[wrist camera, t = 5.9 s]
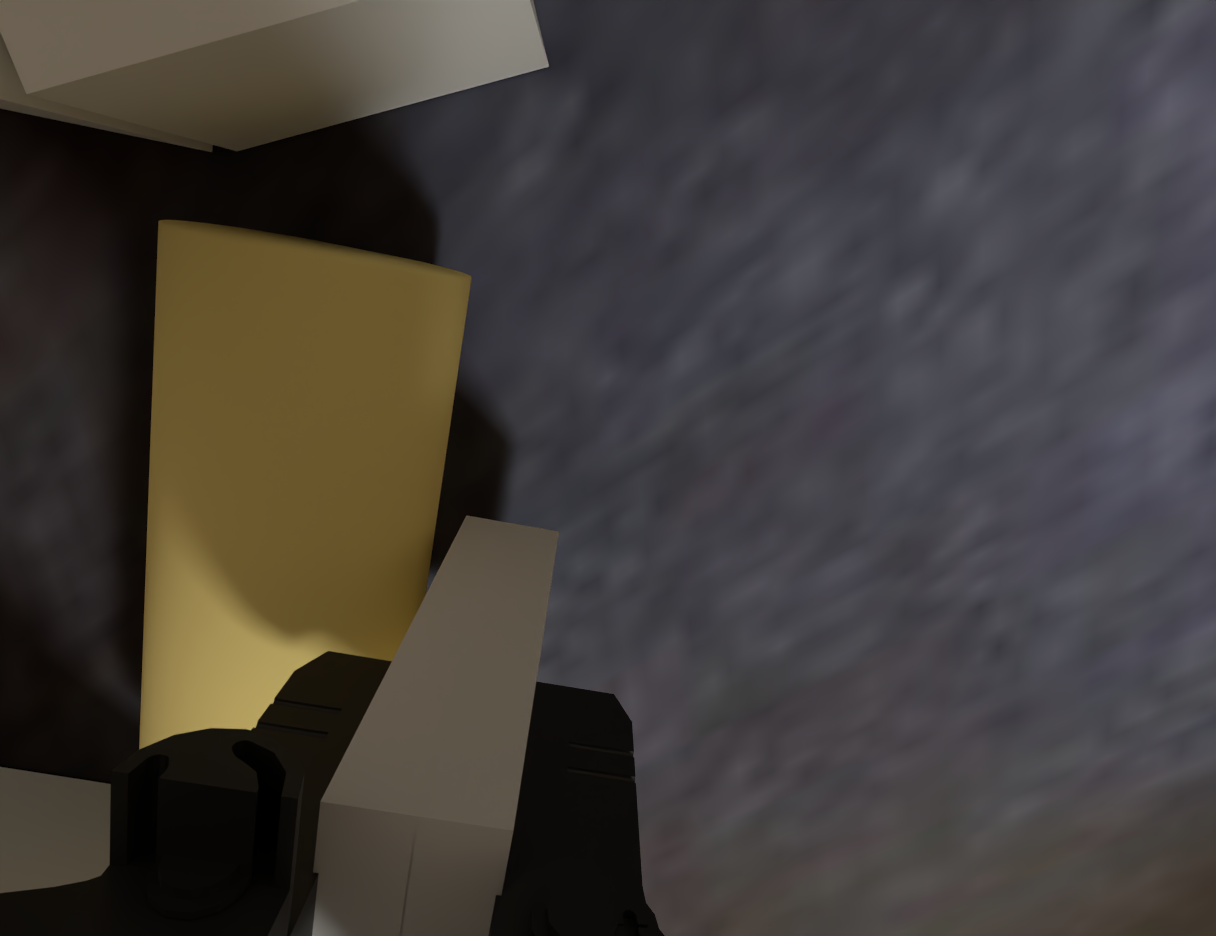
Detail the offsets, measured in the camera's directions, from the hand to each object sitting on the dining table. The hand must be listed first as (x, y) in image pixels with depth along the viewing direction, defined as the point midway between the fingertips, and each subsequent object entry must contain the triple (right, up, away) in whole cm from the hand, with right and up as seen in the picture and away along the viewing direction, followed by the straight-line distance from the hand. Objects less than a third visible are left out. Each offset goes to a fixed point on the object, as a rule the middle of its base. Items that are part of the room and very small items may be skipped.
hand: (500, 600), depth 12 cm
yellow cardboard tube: (-4, 0, -2) cm, 5 cm away
